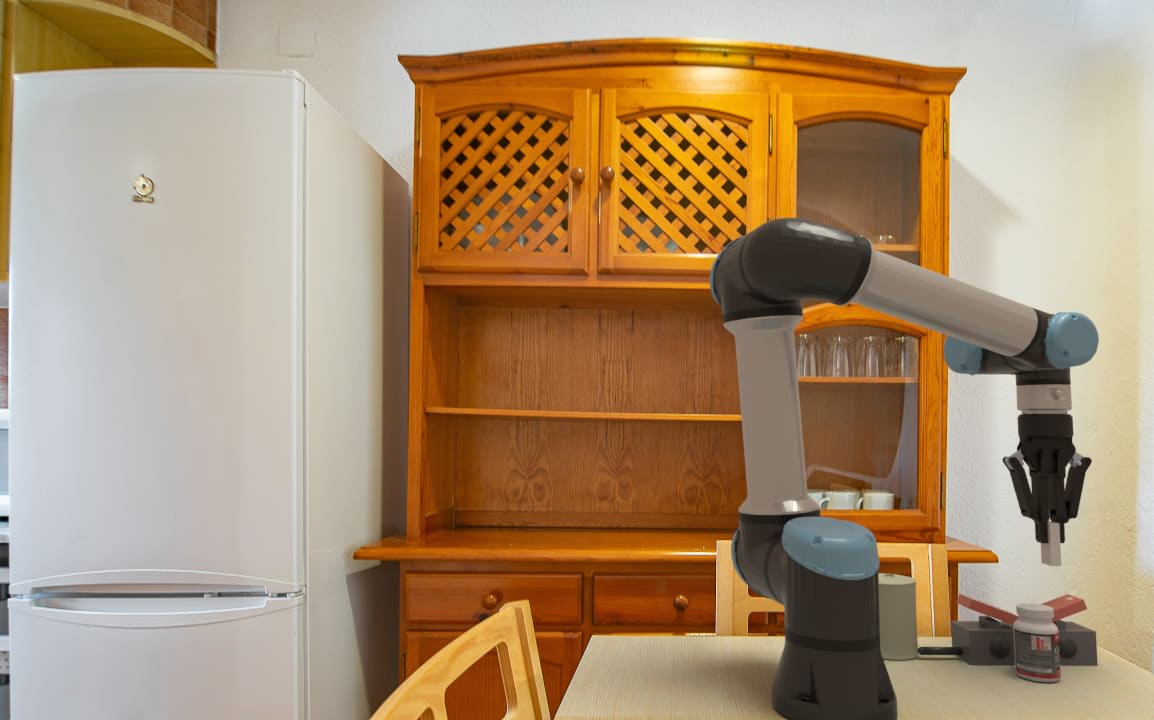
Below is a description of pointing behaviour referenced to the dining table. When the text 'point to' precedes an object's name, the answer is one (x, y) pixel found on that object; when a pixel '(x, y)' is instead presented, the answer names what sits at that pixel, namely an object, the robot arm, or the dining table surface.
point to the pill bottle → (1036, 643)
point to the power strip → (1012, 643)
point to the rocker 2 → (1066, 606)
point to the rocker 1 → (987, 609)
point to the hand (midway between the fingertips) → (1051, 564)
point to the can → (897, 617)
